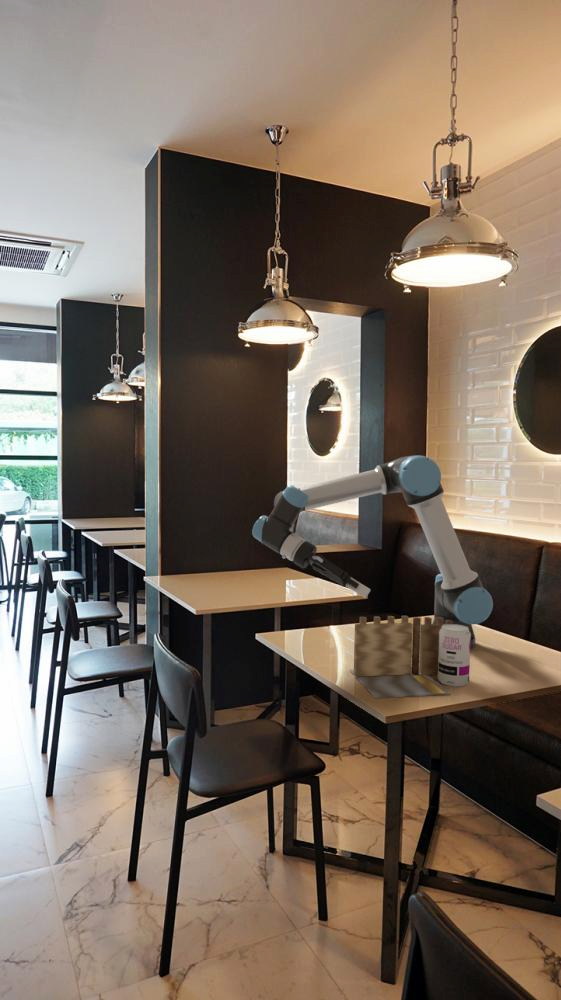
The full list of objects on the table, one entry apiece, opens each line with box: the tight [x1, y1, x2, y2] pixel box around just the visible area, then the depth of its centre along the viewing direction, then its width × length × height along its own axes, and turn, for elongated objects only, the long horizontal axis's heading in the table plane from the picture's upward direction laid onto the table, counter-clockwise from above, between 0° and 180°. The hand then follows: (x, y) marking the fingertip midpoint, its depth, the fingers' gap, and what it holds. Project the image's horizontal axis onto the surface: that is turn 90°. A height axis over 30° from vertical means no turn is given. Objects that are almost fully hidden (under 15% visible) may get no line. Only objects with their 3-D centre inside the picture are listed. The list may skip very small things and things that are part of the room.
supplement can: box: [437, 624, 471, 688], centre depth 179 cm, size 8×8×15 cm
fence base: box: [349, 616, 453, 699], centre depth 179 cm, size 28×22×16 cm
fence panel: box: [353, 615, 413, 678], centre depth 182 cm, size 16×2×16 cm, turn 101°
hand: (367, 593), depth 188 cm, fingers closed
